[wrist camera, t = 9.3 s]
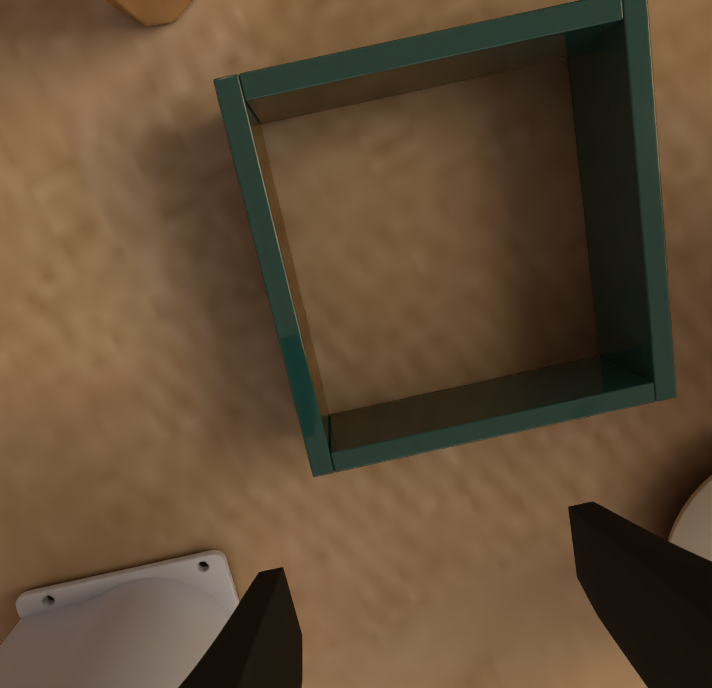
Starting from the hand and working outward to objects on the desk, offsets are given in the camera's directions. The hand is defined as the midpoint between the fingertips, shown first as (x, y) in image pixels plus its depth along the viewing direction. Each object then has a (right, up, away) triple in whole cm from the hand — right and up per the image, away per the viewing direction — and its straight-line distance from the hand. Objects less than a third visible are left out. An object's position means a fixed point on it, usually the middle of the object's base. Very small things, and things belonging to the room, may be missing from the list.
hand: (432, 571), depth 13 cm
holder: (+2, +10, +9) cm, 13 cm away
